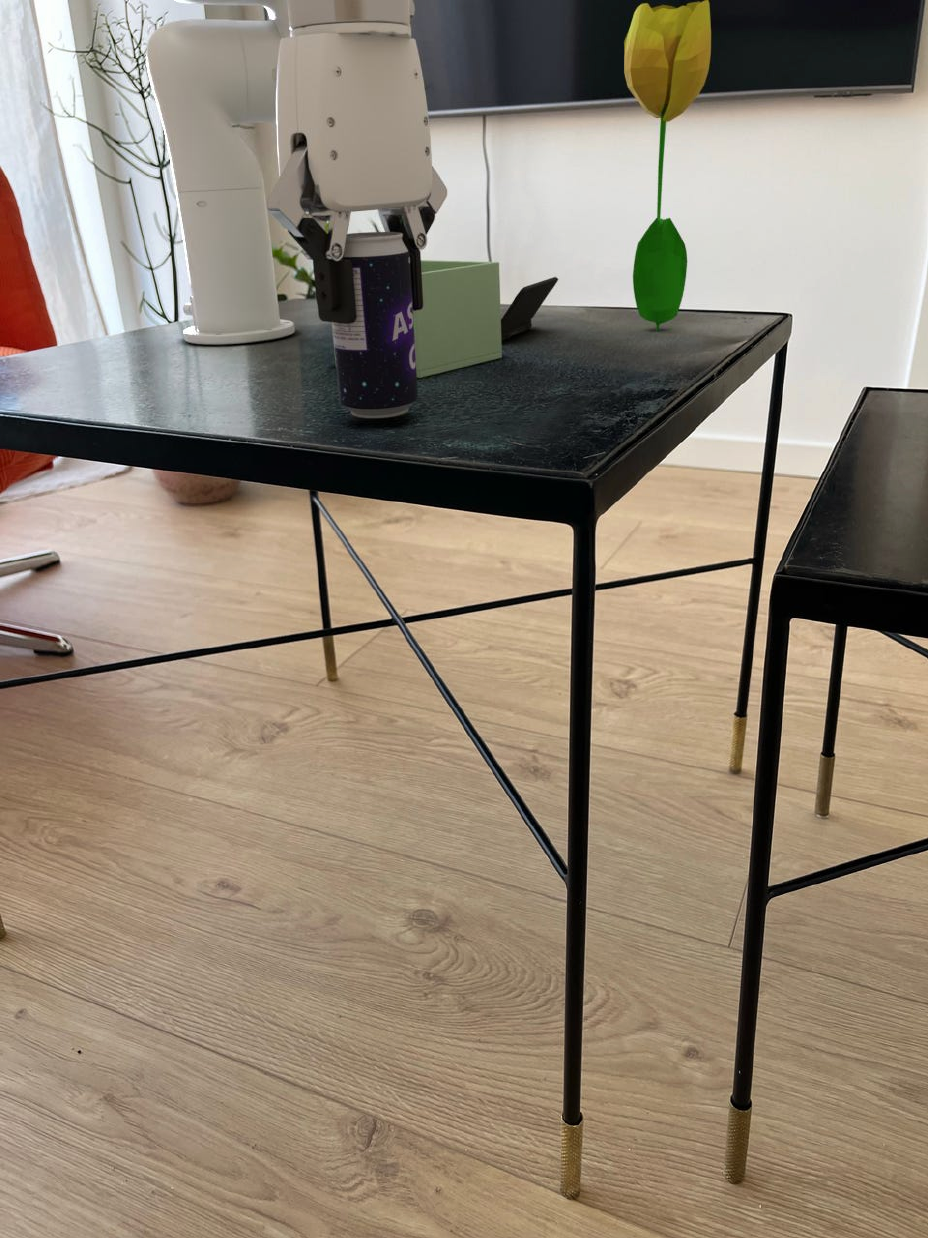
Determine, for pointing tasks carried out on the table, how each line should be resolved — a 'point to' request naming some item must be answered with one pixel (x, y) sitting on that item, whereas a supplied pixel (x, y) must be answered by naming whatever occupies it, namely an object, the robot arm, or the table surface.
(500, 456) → the table surface
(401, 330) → the beverage can
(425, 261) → the pale green square box
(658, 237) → the flower
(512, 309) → the black tablet stand
